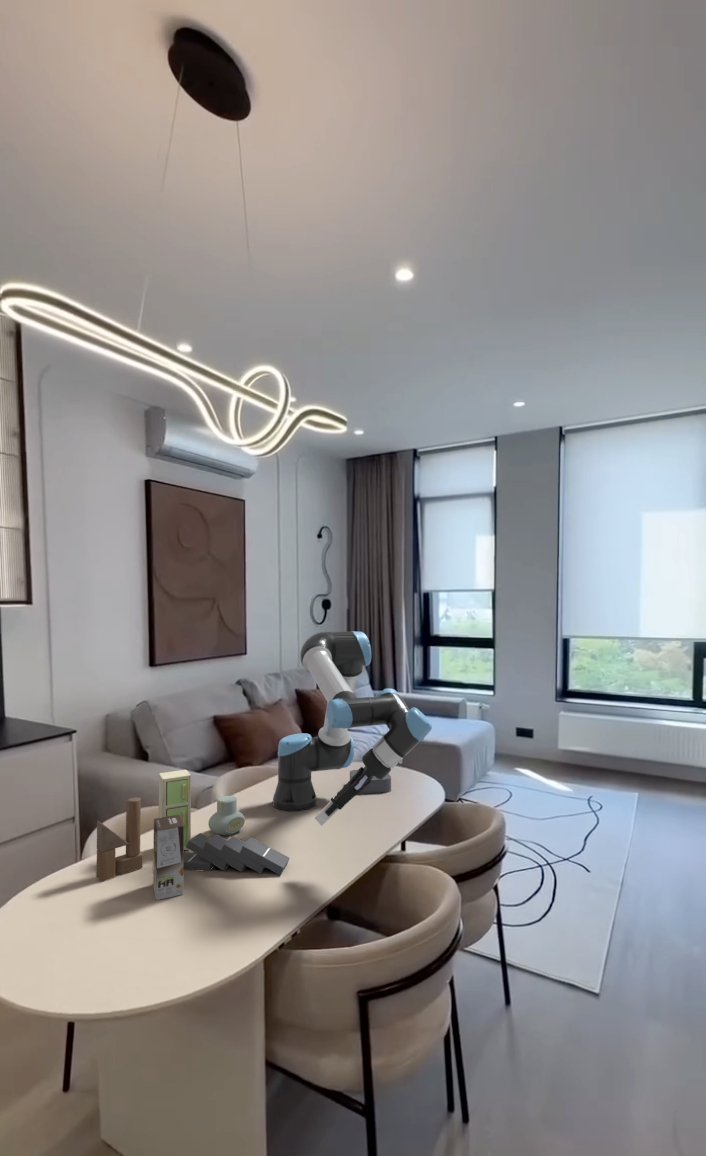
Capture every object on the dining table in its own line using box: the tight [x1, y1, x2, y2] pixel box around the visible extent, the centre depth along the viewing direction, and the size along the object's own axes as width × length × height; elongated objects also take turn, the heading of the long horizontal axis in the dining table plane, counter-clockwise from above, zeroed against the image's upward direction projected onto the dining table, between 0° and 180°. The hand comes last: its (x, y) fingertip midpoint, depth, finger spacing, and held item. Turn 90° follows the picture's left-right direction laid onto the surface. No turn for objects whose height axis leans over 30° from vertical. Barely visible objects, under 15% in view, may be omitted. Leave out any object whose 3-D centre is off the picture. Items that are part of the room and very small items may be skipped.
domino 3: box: [203, 833, 248, 873], centre depth 151 cm, size 2×6×12 cm
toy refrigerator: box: [158, 769, 192, 851], centre depth 163 cm, size 8×7×21 cm
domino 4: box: [221, 835, 267, 874], centre depth 150 cm, size 2×6×12 cm
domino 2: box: [183, 851, 214, 872], centre depth 152 cm, size 2×6×12 cm
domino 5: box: [240, 836, 291, 876], centre depth 149 cm, size 2×6×12 cm
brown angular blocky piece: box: [95, 796, 143, 882], centre depth 148 cm, size 4×11×18 cm, turn 135°
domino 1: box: [186, 832, 230, 872], centre depth 152 cm, size 2×6×12 cm
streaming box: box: [349, 769, 392, 795], centre depth 218 cm, size 14×14×5 cm
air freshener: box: [207, 795, 246, 836], centre depth 175 cm, size 11×8×10 cm
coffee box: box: [152, 815, 185, 901], centre depth 139 cm, size 9×6×16 cm
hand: (318, 820), depth 149 cm, fingers closed
